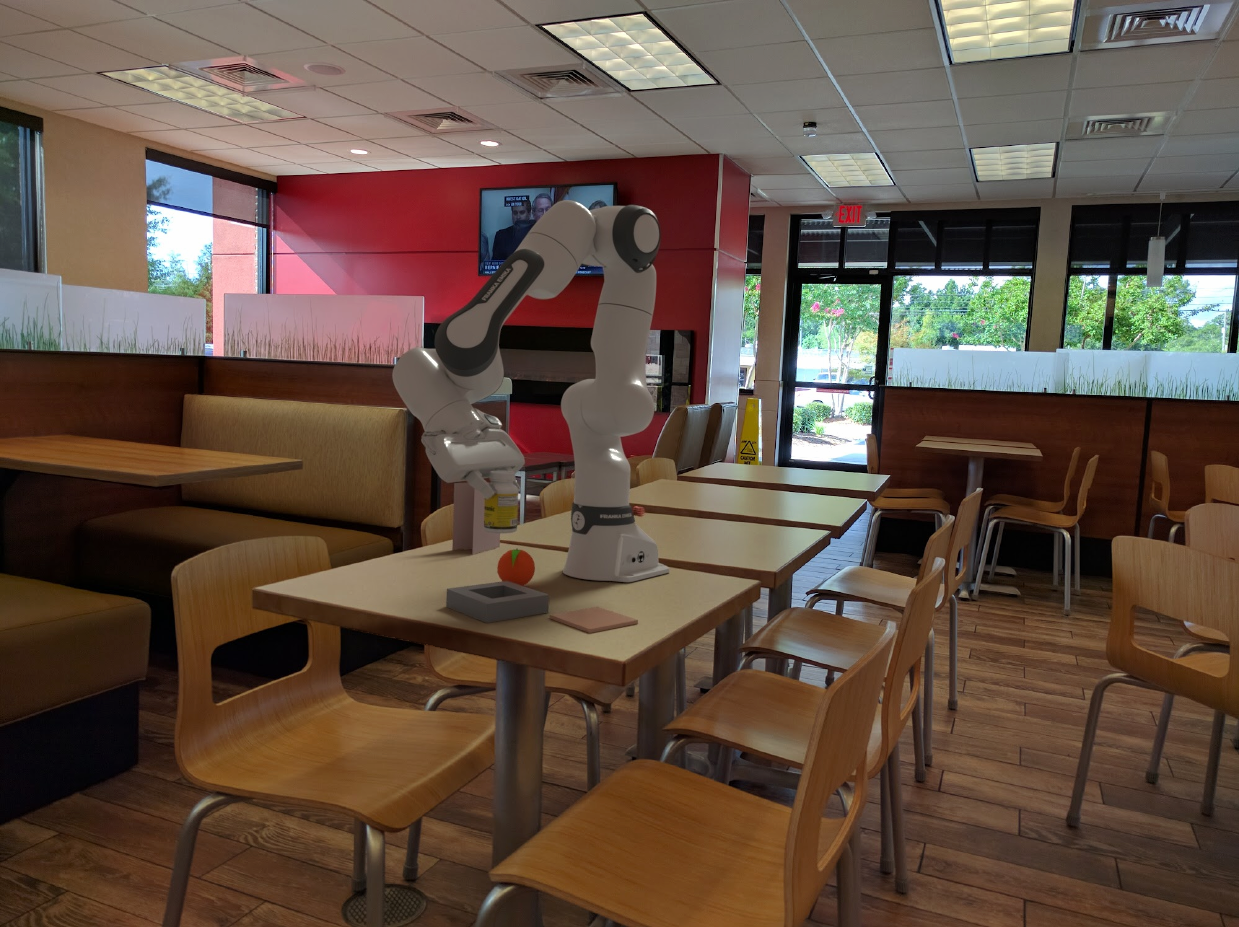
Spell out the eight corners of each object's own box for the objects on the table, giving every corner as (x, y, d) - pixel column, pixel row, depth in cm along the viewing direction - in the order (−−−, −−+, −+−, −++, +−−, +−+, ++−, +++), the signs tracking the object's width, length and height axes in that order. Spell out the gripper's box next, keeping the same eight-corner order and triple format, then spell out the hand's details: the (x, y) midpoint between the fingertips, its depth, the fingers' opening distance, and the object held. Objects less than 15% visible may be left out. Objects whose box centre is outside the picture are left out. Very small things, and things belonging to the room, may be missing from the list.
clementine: (531, 593, 156) (532, 554, 156) (492, 591, 157) (494, 552, 156) (536, 583, 164) (537, 546, 164) (499, 581, 164) (500, 544, 164)
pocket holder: (506, 597, 152) (507, 580, 152) (548, 612, 143) (549, 594, 143) (446, 606, 144) (446, 588, 144) (486, 623, 135) (487, 604, 135)
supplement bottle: (479, 528, 144) (481, 469, 143) (511, 528, 146) (513, 470, 145) (488, 534, 139) (490, 473, 138) (520, 533, 141) (523, 473, 140)
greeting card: (498, 546, 200) (500, 481, 199) (511, 552, 194) (514, 485, 193) (450, 549, 194) (452, 482, 193) (463, 555, 188) (465, 486, 187)
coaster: (597, 610, 146) (597, 606, 146) (637, 623, 139) (638, 620, 139) (549, 618, 140) (549, 614, 140) (589, 633, 132) (589, 629, 132)
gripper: (428, 418, 135) (478, 487, 131) (503, 417, 153) (549, 477, 150) (405, 445, 137) (453, 513, 134) (481, 441, 155) (526, 501, 152)
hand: (504, 494), depth 142 cm, fingers closed on supplement bottle, 5 cm apart
